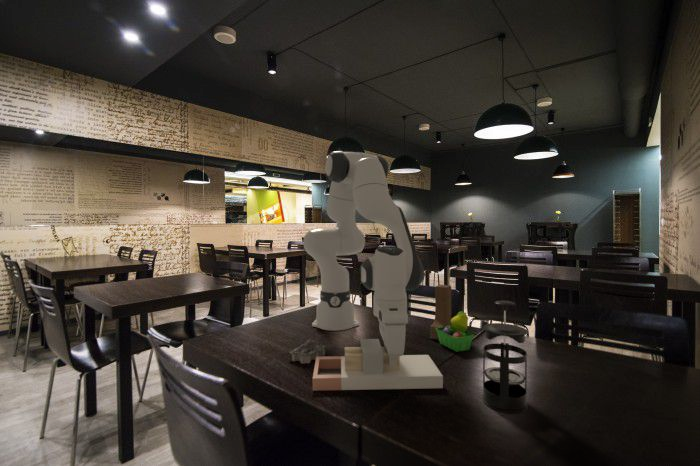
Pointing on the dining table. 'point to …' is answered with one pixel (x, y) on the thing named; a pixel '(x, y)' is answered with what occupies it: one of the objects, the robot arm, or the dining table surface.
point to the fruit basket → (456, 334)
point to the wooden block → (441, 309)
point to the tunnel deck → (376, 372)
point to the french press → (505, 368)
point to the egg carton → (304, 354)
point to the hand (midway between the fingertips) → (390, 360)
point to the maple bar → (356, 359)
